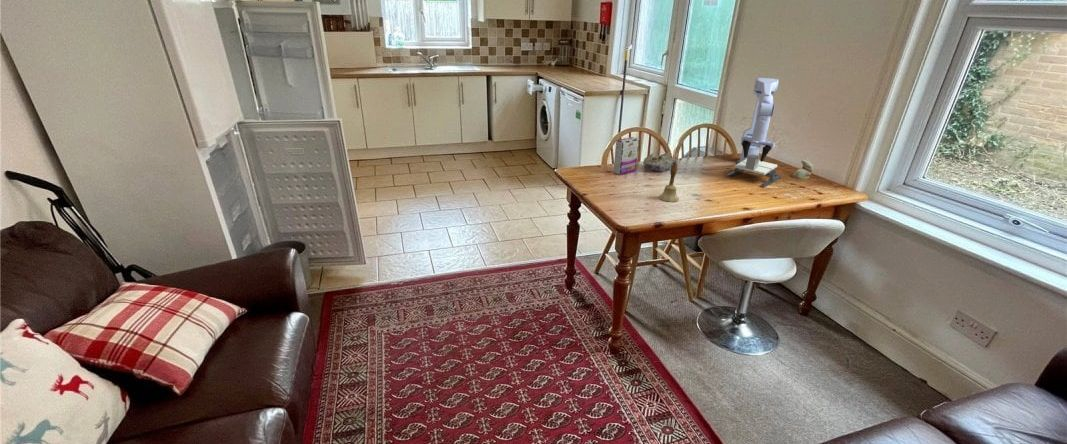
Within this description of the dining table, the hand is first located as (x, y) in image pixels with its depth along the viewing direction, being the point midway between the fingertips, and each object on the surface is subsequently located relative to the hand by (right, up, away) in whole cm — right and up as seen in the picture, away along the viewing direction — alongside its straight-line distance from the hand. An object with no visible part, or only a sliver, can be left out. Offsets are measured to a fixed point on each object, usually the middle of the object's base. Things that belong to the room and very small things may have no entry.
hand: (753, 159), depth 212 cm
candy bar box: (-58, -5, +11) cm, 59 cm away
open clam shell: (+28, -8, +10) cm, 31 cm away
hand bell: (-45, -19, -19) cm, 53 cm away
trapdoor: (+4, -3, +5) cm, 7 cm away
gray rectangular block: (0, -4, +2) cm, 4 cm away
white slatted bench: (+3, -8, +8) cm, 12 cm away
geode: (-40, -3, +17) cm, 44 cm away
